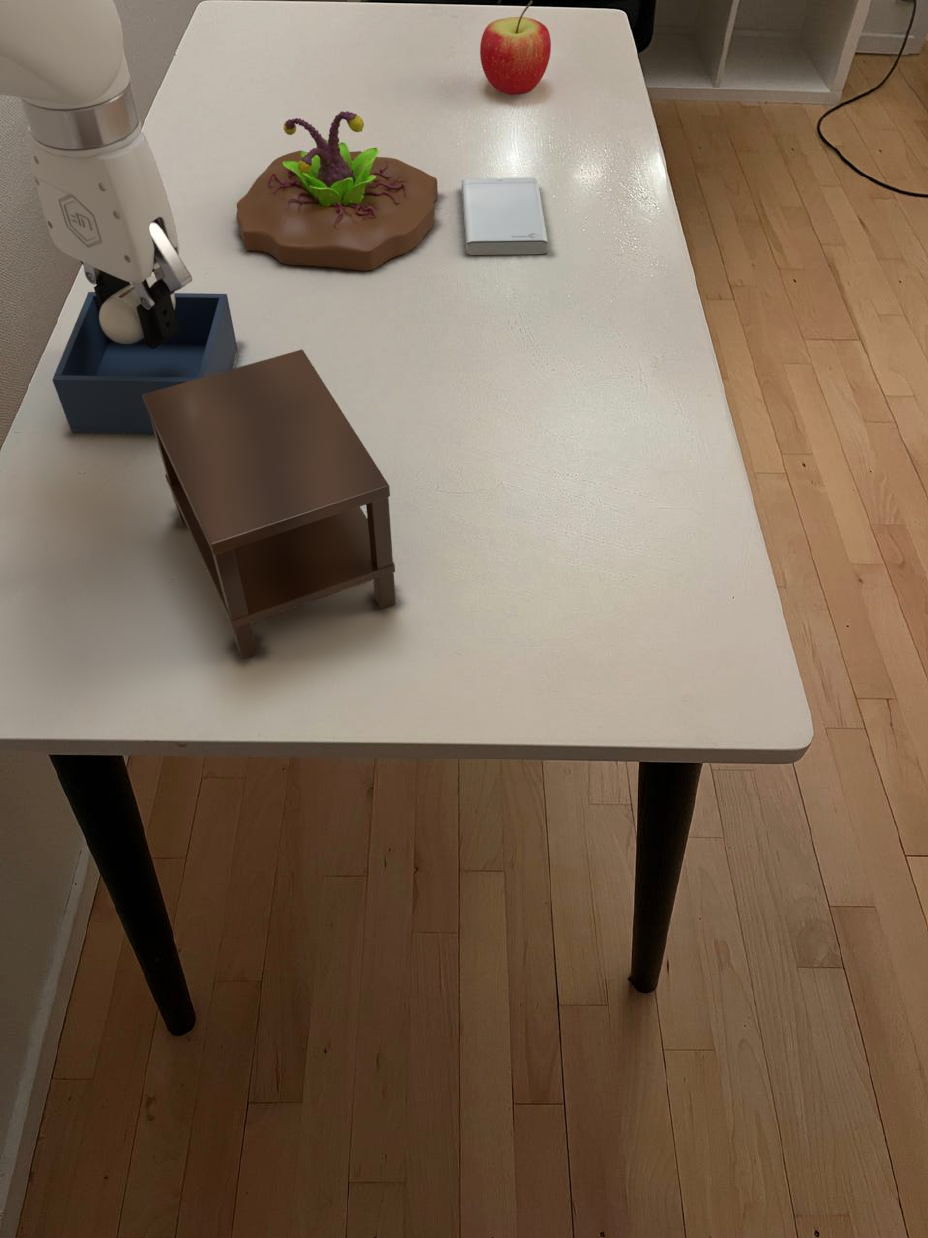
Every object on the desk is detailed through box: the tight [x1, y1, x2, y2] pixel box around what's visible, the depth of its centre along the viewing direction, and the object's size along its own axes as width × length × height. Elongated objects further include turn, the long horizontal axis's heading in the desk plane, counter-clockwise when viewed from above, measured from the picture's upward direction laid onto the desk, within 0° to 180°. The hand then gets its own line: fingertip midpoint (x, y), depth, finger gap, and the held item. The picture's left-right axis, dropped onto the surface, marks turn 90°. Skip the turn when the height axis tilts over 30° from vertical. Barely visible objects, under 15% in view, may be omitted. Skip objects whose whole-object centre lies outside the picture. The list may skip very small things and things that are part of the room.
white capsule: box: [99, 275, 176, 344], centre depth 87 cm, size 7×4×4 cm, turn 146°
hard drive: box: [461, 176, 549, 256], centre depth 110 cm, size 2×8×12 cm
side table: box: [142, 349, 397, 660], centre depth 76 cm, size 12×16×12 cm
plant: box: [236, 110, 439, 272], centre depth 107 cm, size 20×20×11 cm
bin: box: [51, 291, 238, 435], centre depth 91 cm, size 12×12×6 cm
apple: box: [479, 0, 552, 96], centre depth 126 cm, size 8×8×10 cm
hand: (142, 327), depth 89 cm, fingers closed on white capsule, 4 cm apart
